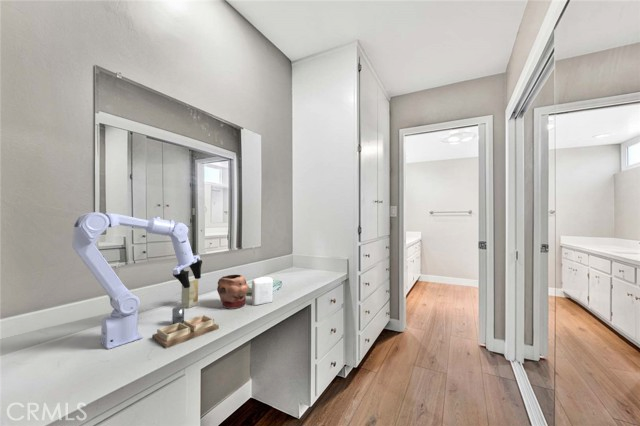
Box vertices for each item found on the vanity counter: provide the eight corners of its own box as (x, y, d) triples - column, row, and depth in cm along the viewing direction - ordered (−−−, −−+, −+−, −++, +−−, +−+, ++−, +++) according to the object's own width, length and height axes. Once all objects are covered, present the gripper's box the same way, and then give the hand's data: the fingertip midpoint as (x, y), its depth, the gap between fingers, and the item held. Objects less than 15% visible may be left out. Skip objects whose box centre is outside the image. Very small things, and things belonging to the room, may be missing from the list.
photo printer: (270, 300, 129) (270, 275, 130) (274, 302, 126) (274, 276, 126) (250, 303, 123) (250, 278, 124) (253, 306, 120) (253, 279, 120)
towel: (234, 295, 138) (234, 286, 138) (255, 285, 158) (255, 277, 158) (265, 298, 132) (265, 288, 133) (282, 288, 153) (282, 279, 153)
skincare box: (189, 308, 117) (189, 281, 117) (180, 307, 118) (181, 280, 118) (198, 303, 123) (198, 278, 124) (190, 303, 124) (190, 277, 124)
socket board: (166, 348, 81) (166, 337, 81) (152, 338, 88) (152, 328, 88) (218, 328, 96) (218, 319, 96) (203, 321, 102) (203, 313, 102)
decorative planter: (205, 305, 121) (206, 276, 121) (226, 298, 131) (226, 271, 132) (237, 313, 111) (237, 280, 112) (256, 304, 122) (256, 275, 122)
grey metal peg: (175, 326, 97) (175, 310, 97) (170, 324, 100) (170, 308, 100) (185, 323, 100) (186, 308, 101) (181, 321, 103) (181, 305, 103)
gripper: (181, 257, 95) (191, 290, 97) (202, 244, 109) (211, 273, 111) (163, 259, 96) (174, 292, 98) (187, 246, 110) (196, 275, 112)
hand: (192, 282), depth 105 cm, fingers open, 7 cm apart
